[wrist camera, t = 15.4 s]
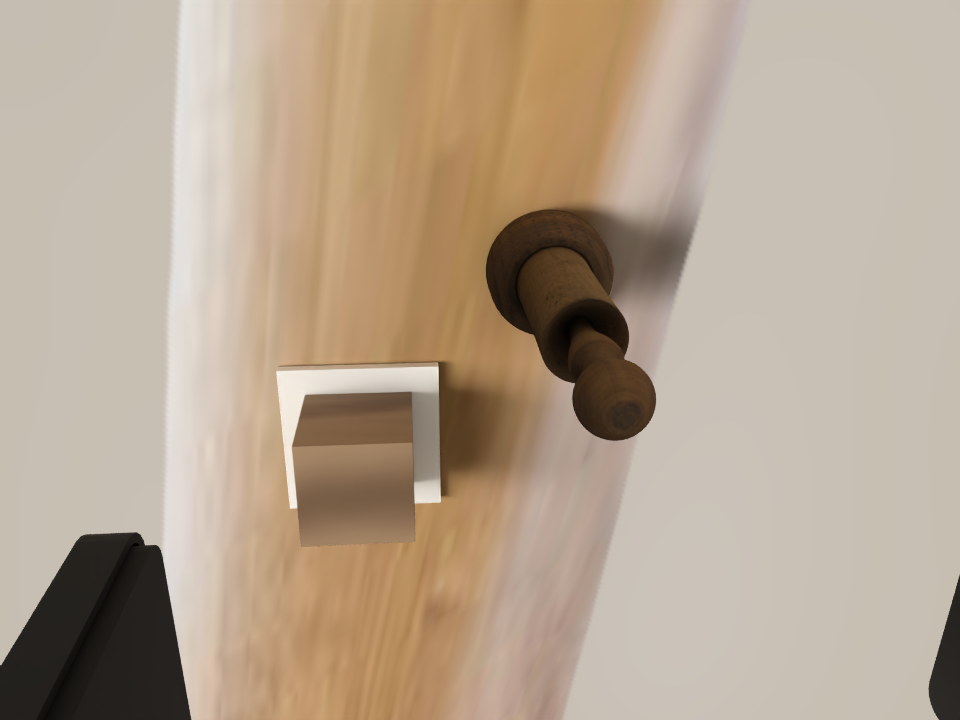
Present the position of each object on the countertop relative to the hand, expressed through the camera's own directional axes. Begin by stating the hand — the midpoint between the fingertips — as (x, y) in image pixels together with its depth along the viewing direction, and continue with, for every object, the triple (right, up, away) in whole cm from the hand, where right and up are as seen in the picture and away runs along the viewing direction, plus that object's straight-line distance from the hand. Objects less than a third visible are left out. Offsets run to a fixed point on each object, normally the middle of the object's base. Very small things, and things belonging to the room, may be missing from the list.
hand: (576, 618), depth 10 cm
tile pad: (-8, -1, +40) cm, 40 cm away
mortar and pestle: (+3, +8, +37) cm, 38 cm away
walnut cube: (-8, -2, +39) cm, 40 cm away
